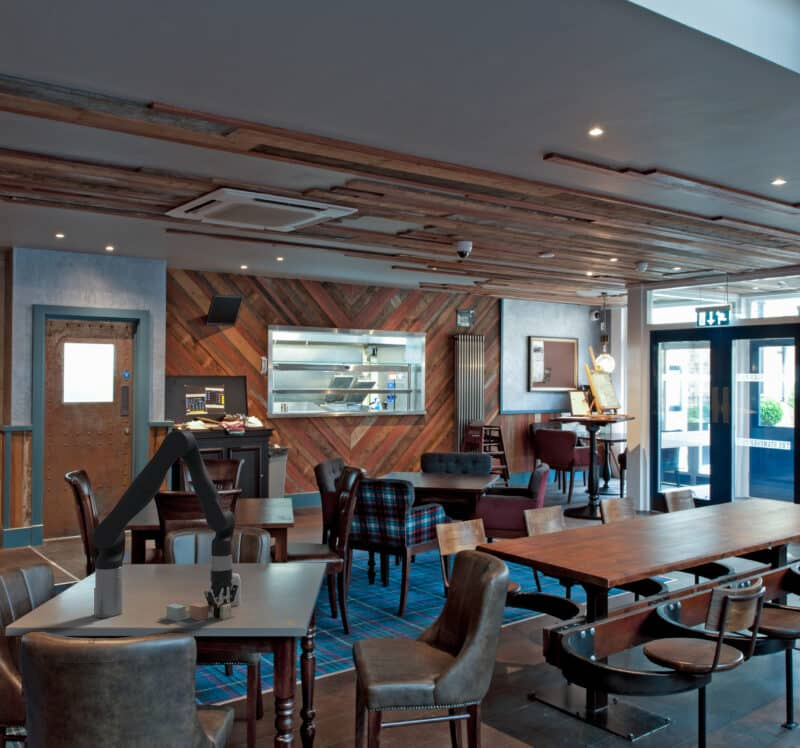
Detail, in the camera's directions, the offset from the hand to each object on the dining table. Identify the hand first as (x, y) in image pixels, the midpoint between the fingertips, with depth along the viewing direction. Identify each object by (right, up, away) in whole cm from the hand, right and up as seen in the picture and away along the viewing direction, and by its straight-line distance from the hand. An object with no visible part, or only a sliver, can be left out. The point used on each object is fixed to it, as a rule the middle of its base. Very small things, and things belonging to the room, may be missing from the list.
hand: (221, 616), depth 280 cm
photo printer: (-2, -1, +16) cm, 16 cm away
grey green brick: (-15, 0, -2) cm, 16 cm away
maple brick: (0, 0, 0) cm, 0 cm away
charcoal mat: (-8, -1, -1) cm, 9 cm away
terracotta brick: (-8, 0, -1) cm, 8 cm away
